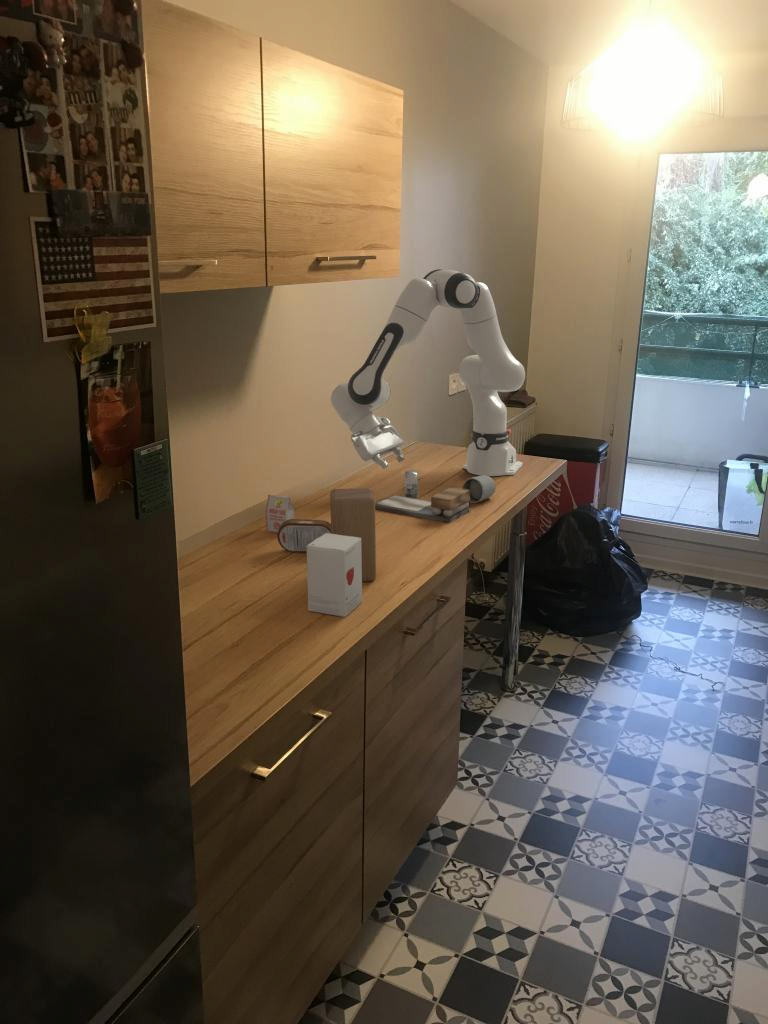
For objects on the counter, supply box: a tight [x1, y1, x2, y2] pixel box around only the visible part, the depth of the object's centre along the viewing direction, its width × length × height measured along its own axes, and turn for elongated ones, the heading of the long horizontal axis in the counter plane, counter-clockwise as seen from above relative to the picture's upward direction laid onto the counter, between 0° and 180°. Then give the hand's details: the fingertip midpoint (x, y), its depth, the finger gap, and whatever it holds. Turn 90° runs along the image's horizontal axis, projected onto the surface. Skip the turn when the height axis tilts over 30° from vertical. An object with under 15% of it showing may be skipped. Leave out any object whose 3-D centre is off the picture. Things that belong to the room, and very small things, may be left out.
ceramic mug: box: [462, 475, 497, 504], centre depth 254 cm, size 11×8×8 cm
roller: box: [404, 469, 419, 499], centre depth 256 cm, size 4×4×8 cm
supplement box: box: [306, 533, 363, 618], centre depth 177 cm, size 9×9×15 cm
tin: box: [276, 518, 331, 554], centre depth 211 cm, size 15×3×8 cm, turn 84°
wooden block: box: [329, 487, 377, 582], centre depth 194 cm, size 10×10×20 cm
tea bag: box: [265, 494, 295, 534], centre depth 226 cm, size 4×7×10 cm, turn 62°
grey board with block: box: [375, 486, 470, 523], centre depth 244 cm, size 12×26×7 cm, turn 58°
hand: (394, 464), depth 257 cm, fingers open, 8 cm apart
